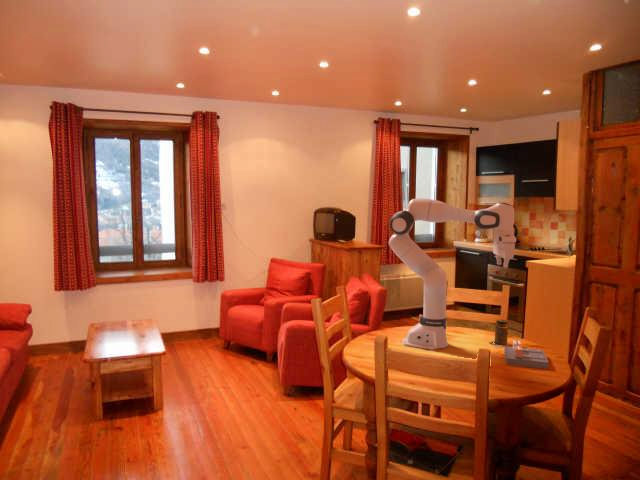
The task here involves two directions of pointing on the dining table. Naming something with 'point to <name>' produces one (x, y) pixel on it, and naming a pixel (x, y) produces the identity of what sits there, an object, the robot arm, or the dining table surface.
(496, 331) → the condiment
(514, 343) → the fader far
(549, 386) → the dining table surface
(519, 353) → the fader near
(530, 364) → the console
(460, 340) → the dining table surface
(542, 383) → the dining table surface
